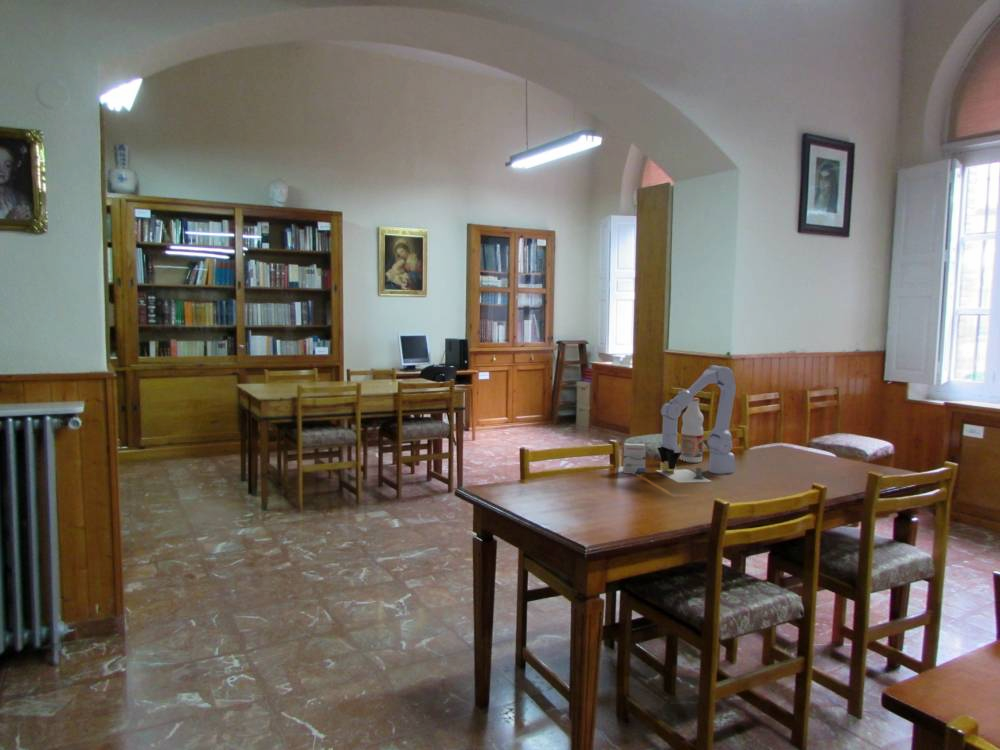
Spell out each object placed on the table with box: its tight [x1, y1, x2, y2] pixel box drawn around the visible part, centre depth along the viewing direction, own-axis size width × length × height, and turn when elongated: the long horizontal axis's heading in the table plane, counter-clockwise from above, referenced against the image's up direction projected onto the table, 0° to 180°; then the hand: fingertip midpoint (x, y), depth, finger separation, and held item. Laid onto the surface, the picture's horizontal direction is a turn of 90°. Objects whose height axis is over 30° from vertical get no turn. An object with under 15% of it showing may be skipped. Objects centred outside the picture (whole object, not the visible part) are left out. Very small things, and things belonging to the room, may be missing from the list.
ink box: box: [622, 442, 647, 475], centre depth 269 cm, size 8×5×12 cm, turn 84°
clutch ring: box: [659, 460, 677, 471], centre depth 266 cm, size 6×6×3 cm
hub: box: [662, 462, 674, 475], centre depth 266 cm, size 5×5×4 cm
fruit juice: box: [679, 397, 704, 463], centre depth 294 cm, size 9×9×28 cm
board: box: [655, 467, 713, 483], centre depth 262 cm, size 14×20×5 cm
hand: (668, 467), depth 266 cm, fingers closed on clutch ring, 6 cm apart
